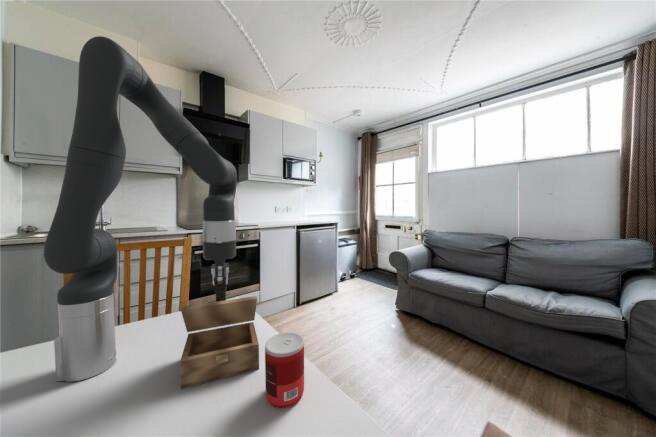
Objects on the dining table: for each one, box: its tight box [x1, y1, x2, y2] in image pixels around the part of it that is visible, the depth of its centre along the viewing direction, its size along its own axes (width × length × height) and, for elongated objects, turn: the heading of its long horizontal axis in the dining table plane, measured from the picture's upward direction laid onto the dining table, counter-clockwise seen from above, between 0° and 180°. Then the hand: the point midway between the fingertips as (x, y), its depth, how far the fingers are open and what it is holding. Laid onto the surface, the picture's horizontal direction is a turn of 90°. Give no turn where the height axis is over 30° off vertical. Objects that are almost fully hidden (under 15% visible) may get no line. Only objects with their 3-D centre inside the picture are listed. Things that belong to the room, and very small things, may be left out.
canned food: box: [264, 332, 305, 409], centre depth 49 cm, size 8×8×11 cm
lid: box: [180, 295, 258, 333], centre depth 61 cm, size 17×12×1 cm
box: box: [179, 321, 260, 390], centre depth 59 cm, size 16×12×6 cm
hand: (221, 306), depth 60 cm, fingers closed
